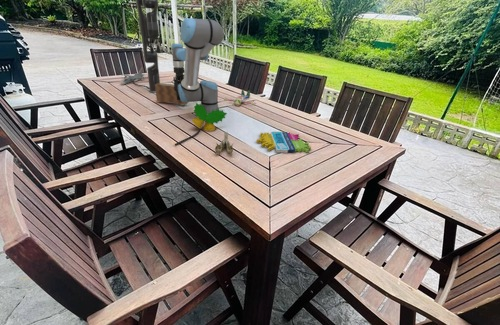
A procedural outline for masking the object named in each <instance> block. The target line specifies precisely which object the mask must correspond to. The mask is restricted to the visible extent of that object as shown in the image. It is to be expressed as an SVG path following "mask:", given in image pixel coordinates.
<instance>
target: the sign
mask: <svg viewBox="0 0 500 325" xmlns="http://www.w3.org/2000/svg"><path fill="white" fill-rule="evenodd" d="M299 136H300V135H299V134H298V133H296V134H294V133H291V132H287V131H270V132H264V133H263V132H260V133H259V139H258V138H257V139H256V143H257V144H261V148H263V147H264V148H265V149H267V151H268V152H271V151H272V150H273V149H275V152H276V153H283V154H285V153H287V154H288V153H290V154H293V153H296V152H298V153H301V152H305V153H310V151H311V150H312V149H311V148H312V146H309V142H304V141H303V139H302V138H299Z"/></svg>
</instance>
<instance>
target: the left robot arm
mask: <svg viewBox="0 0 500 325" xmlns="http://www.w3.org/2000/svg"><path fill="white" fill-rule="evenodd" d="M135 5H136V9H137V10H136V11H137V15H138V23H139V30H140V31H139V32H140V36H141V43H142V53H143V60H144V63H146V64H152V65H150V66H148V67H147V68H146V70H147V77H148V78H147V79H148V85H143V84H138V83H135V82H134V81H132V84H133V85H135V86H138V87H145V88H147V89H148V90H149V92H150V93H155V94H156V90H155V84H157V83H161V80H160V79H161V78H160V70H159V58H158V53H161V47H162V38H161V37H160V32H159V31H160V30H159V24H158V9H159V0H135ZM142 7H143V8H145V9H151V10H152V11H149V12H146V13H144V11H143V8H142ZM155 46H156V50H154V47H155ZM148 48H149V50H148Z"/></svg>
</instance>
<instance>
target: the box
mask: <svg viewBox="0 0 500 325" xmlns="http://www.w3.org/2000/svg"><path fill="white" fill-rule="evenodd" d="M155 90H156V93H155V98H156V102H160V103H169V104H175V105H176V104H177V105H187V104H188V103H189V102H182V101H181V100H177V93H176V91H175V90H174V83H166V82H165V83H164V82H160V83H157V84H155Z"/></svg>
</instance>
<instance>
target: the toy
mask: <svg viewBox="0 0 500 325" xmlns="http://www.w3.org/2000/svg"><path fill="white" fill-rule="evenodd" d="M240 92H241V93H240V95H238V96H237V97H235V99H233V98H230V99H228V98H227V97H226V96H225V97H224V98H223V101H224V102H233V103H232V104H233V105H235V106H242V103H243V104H247V105H252V106H255V105H256V104H257V103H256V102H254V101H253V100H252V101H251V102H250V101H248V100H246V99H248V98H250V97H251V90H250V89H249V90H248V91H247V92H246V93H245V91H244V89H242V90H241V91H240Z"/></svg>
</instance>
